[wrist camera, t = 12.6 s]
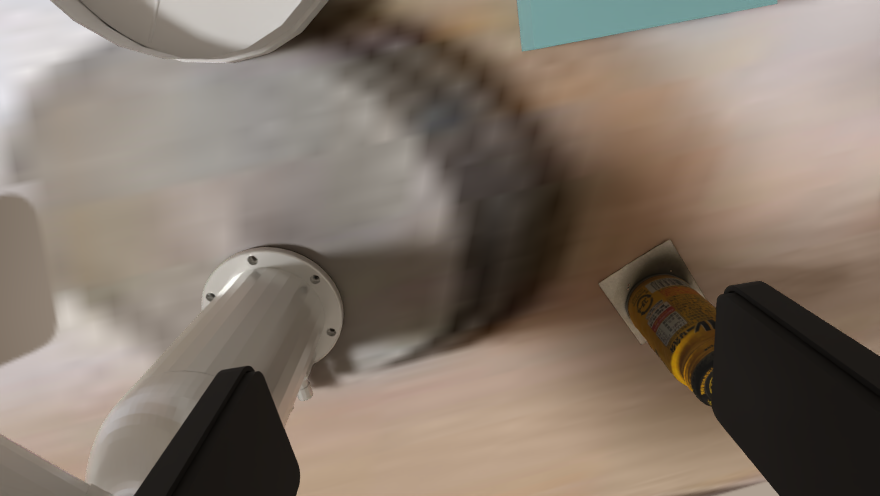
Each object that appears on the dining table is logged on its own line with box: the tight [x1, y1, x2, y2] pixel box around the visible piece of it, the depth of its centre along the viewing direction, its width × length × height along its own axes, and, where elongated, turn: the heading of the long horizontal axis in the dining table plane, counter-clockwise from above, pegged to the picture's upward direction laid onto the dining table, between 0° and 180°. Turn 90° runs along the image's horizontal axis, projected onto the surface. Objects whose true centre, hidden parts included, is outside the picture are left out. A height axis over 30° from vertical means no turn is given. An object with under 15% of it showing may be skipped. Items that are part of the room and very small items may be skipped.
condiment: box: [599, 240, 716, 407], centre depth 38 cm, size 7×8×12 cm
